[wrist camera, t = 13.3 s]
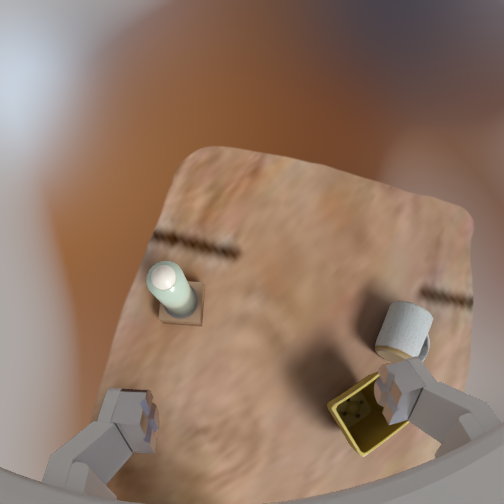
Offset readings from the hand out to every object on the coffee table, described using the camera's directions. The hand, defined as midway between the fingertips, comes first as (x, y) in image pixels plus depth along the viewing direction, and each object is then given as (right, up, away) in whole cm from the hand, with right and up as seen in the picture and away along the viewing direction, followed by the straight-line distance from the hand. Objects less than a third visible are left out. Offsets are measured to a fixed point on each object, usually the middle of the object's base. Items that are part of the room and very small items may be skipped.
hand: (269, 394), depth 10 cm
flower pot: (+14, -19, +31) cm, 39 cm away
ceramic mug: (+23, -10, +35) cm, 44 cm away
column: (-11, -2, +34) cm, 35 cm away
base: (-11, -3, +37) cm, 38 cm away
